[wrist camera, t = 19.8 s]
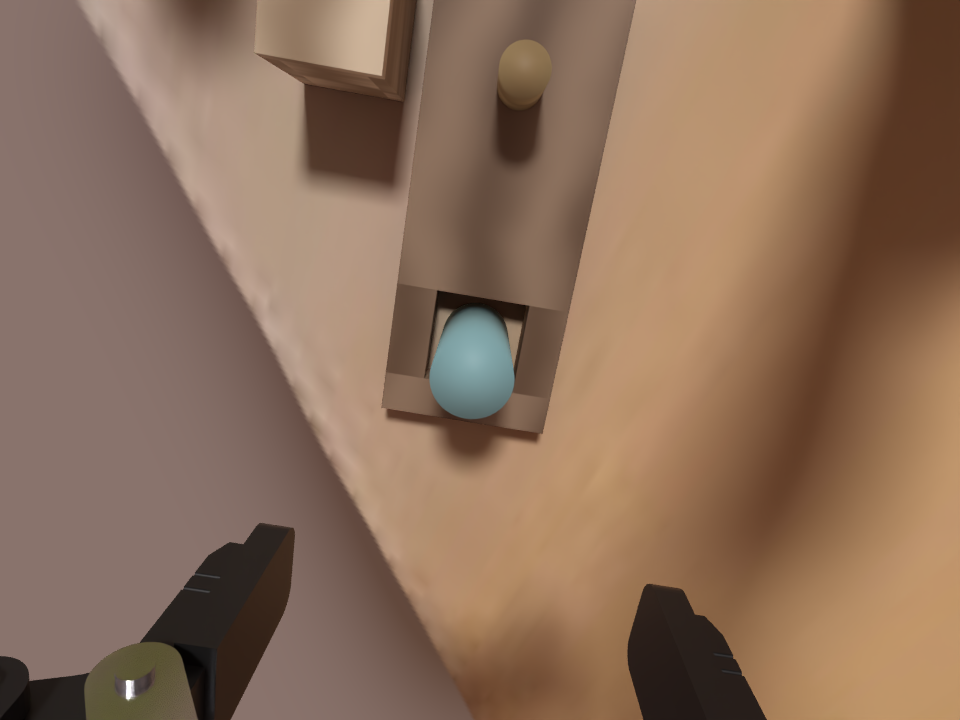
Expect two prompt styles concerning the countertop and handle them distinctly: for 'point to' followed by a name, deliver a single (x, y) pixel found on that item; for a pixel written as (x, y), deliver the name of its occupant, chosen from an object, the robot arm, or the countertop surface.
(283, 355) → the countertop surface
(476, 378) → the peg
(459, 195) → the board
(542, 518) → the countertop surface
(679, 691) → the robot arm
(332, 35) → the beige cube block
